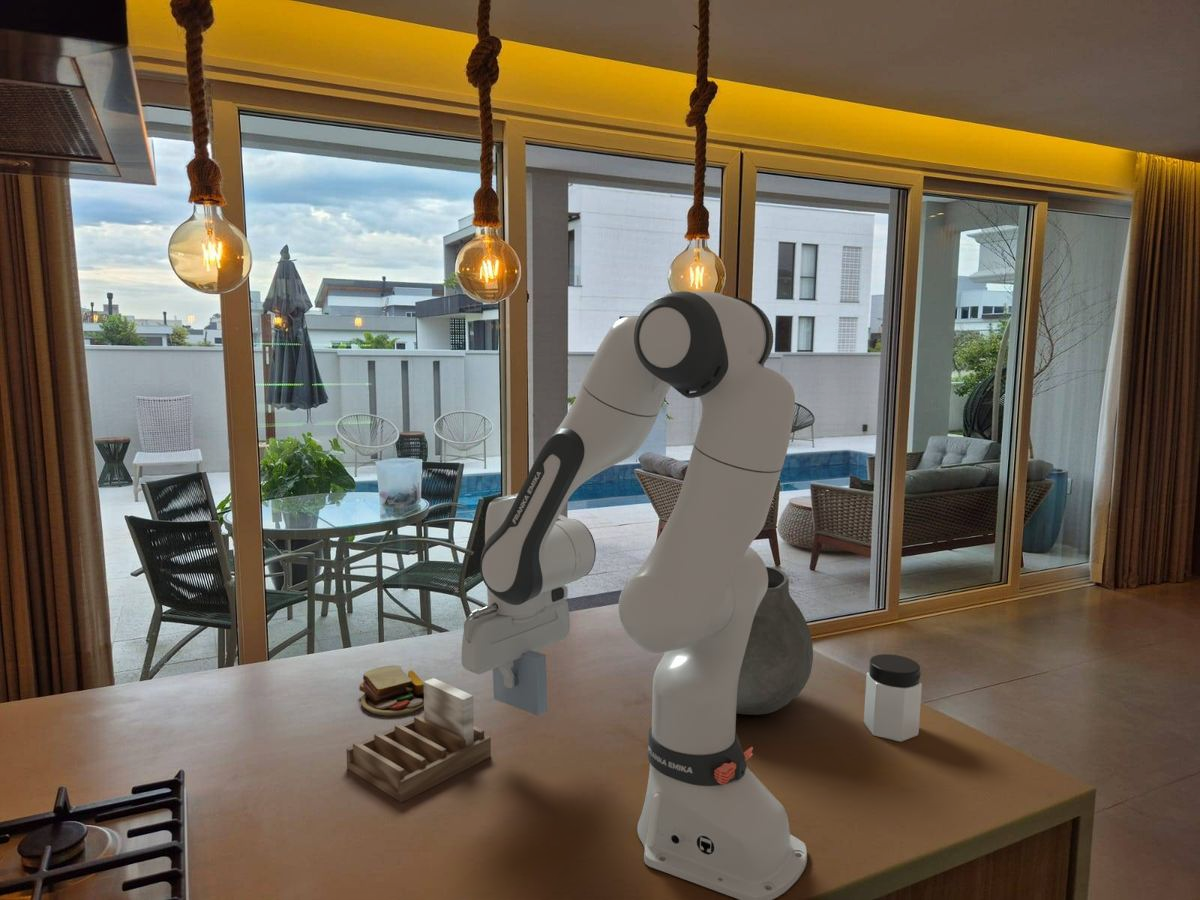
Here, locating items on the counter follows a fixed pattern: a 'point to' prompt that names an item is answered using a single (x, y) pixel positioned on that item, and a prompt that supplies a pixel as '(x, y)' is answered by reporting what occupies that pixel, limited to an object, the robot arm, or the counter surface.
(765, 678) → the ceramic pot
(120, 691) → the counter surface
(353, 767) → the rack
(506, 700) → the grey upright panel
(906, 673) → the jar
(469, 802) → the counter surface
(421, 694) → the toy sandwich meal
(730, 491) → the robot arm
